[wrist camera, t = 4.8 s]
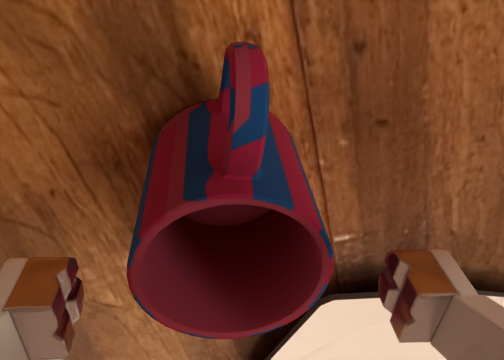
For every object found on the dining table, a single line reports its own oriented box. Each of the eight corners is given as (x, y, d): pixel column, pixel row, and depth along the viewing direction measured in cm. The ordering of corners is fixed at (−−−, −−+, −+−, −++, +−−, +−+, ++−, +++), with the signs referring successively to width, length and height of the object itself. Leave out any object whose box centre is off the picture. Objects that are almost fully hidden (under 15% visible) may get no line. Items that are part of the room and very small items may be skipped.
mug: (144, 213, 20) (120, 334, 14) (168, -2, 15) (146, 58, 9) (274, 228, 21) (299, 345, 16) (341, 37, 16) (413, 110, 10)
